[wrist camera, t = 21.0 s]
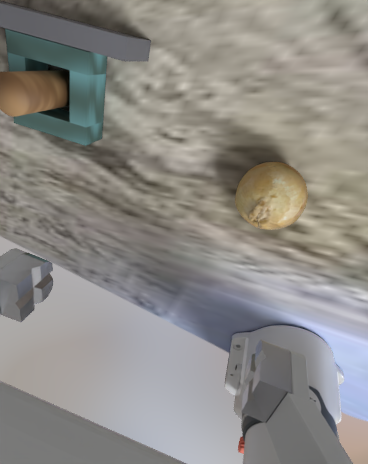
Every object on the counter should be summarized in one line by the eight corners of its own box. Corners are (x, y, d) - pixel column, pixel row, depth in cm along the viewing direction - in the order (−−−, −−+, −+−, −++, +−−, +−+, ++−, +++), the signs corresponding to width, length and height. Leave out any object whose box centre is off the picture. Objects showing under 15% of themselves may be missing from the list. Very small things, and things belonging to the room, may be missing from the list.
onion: (250, 147, 35) (244, 165, 29) (316, 166, 34) (324, 188, 28) (231, 206, 40) (222, 231, 34) (289, 224, 39) (291, 253, 33)
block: (101, 138, 40) (85, 145, 36) (35, 117, 41) (14, 122, 37) (107, 52, 34) (88, 52, 31) (31, 31, 35) (5, 29, 32)
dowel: (82, 108, 38) (27, 120, 30) (54, 100, 39) (-7, 110, 30) (82, 74, 36) (24, 77, 28) (53, 66, 37) (-13, 67, 28)
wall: (148, 61, 34) (125, 61, 29) (-5, 19, 36) (-51, 12, 31) (150, 40, 32) (127, 37, 27) (-8, -2, 35) (-56, -12, 30)
